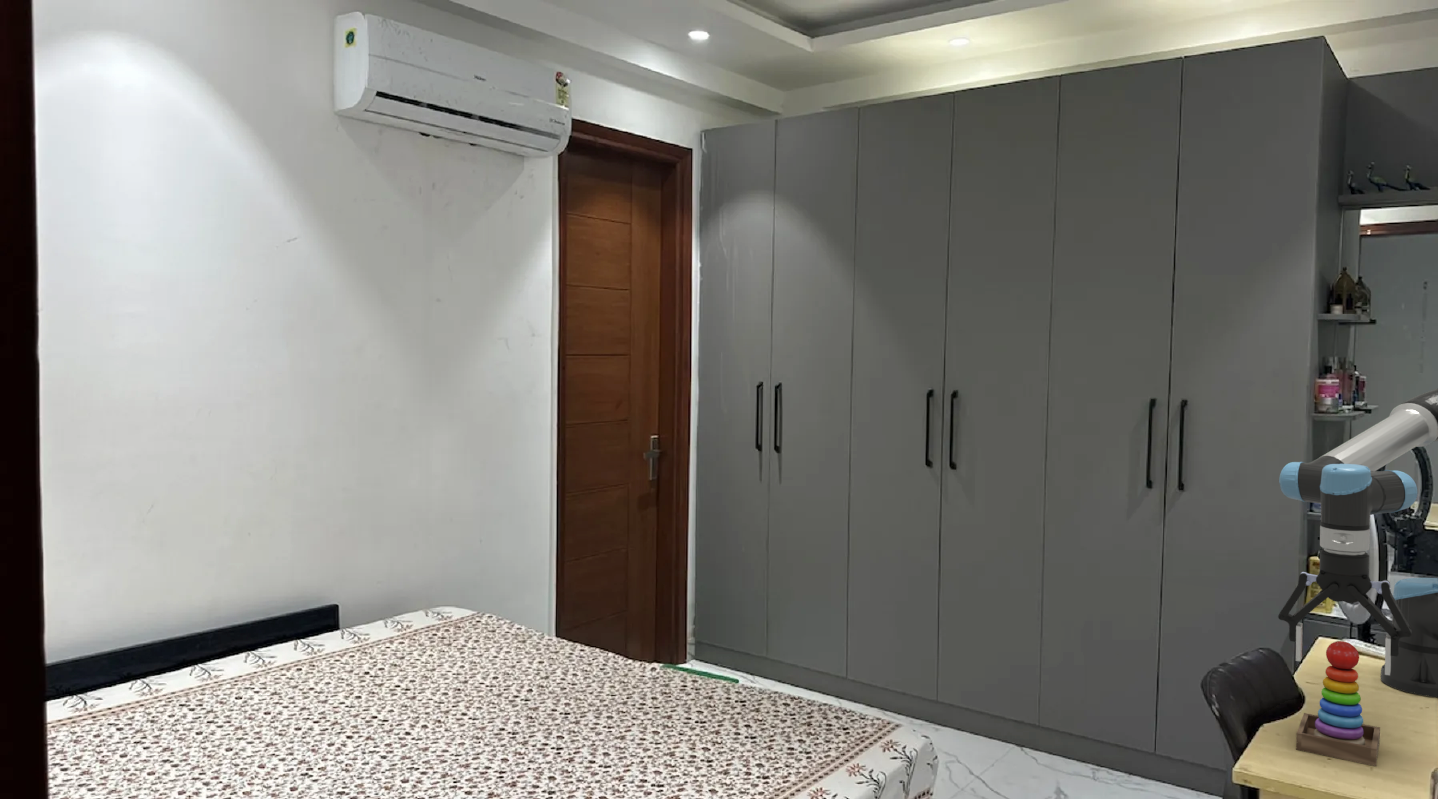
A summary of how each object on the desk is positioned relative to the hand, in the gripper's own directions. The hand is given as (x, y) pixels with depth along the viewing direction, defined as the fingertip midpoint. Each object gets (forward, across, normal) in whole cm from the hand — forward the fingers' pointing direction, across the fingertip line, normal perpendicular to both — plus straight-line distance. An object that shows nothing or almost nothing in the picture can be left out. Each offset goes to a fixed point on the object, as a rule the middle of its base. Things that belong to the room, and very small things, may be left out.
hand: (1342, 666), depth 177 cm
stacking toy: (+14, 0, -1) cm, 14 cm away
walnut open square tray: (+15, 0, -1) cm, 15 cm away
